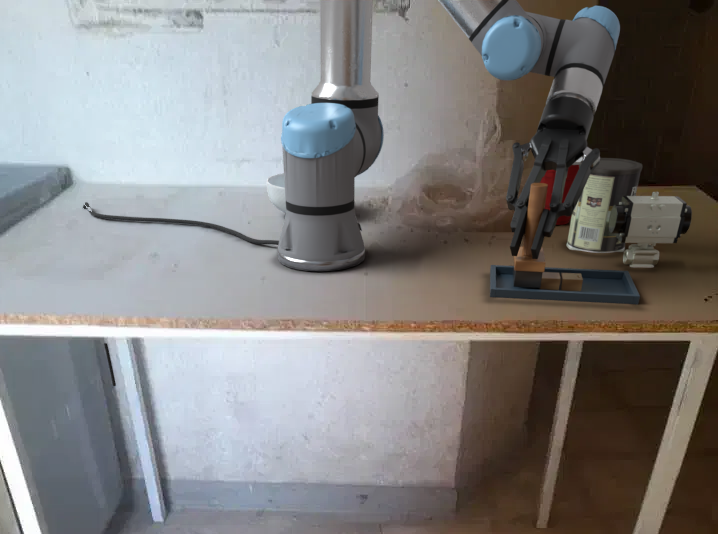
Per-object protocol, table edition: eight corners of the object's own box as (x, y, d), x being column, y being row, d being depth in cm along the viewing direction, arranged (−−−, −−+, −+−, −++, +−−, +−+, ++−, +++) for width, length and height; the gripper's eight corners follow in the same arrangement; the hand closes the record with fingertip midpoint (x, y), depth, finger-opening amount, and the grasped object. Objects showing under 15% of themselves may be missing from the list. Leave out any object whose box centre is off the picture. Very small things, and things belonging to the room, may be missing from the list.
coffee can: (621, 240, 135) (638, 158, 127) (627, 257, 127) (646, 170, 119) (564, 237, 137) (577, 156, 129) (566, 254, 129) (581, 168, 121)
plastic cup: (582, 215, 150) (593, 151, 143) (582, 230, 141) (594, 163, 134) (528, 212, 152) (536, 149, 145) (525, 226, 143) (534, 160, 136)
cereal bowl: (333, 229, 143) (333, 191, 139) (255, 222, 147) (253, 185, 143) (358, 207, 156) (359, 172, 152) (286, 202, 161) (284, 168, 156)
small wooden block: (560, 290, 112) (562, 279, 111) (559, 283, 115) (561, 272, 114) (580, 291, 112) (583, 279, 111) (579, 284, 114) (581, 273, 113)
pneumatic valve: (600, 262, 125) (614, 188, 118) (670, 263, 124) (688, 188, 117) (607, 273, 121) (623, 196, 114) (679, 274, 120) (700, 197, 113)
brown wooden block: (538, 289, 113) (540, 277, 112) (538, 282, 115) (539, 271, 114) (558, 290, 113) (560, 278, 111) (557, 283, 115) (559, 272, 114)
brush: (512, 287, 111) (524, 190, 103) (511, 271, 117) (523, 178, 109) (541, 288, 111) (556, 190, 102) (539, 272, 117) (553, 179, 108)
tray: (489, 300, 111) (490, 289, 110) (489, 275, 120) (490, 264, 119) (637, 308, 108) (640, 296, 107) (625, 281, 117) (628, 270, 116)
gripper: (621, 131, 111) (577, 272, 108) (521, 125, 117) (477, 258, 114) (622, 96, 104) (575, 246, 102) (516, 91, 110) (469, 232, 107)
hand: (523, 252), depth 108 cm, fingers closed on brush, 2 cm apart
